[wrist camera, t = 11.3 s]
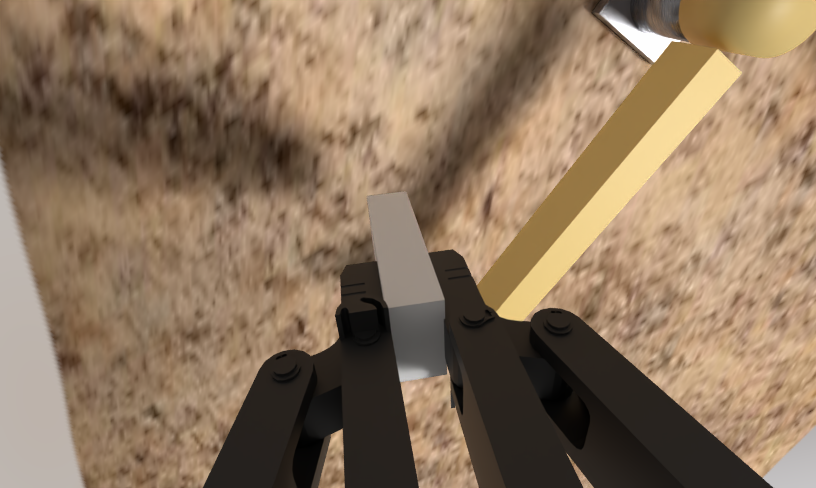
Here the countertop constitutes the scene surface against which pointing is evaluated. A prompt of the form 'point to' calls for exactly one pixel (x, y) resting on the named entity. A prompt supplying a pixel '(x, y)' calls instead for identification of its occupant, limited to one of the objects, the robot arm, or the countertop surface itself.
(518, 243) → the yellow handle
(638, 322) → the countertop surface
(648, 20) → the post
